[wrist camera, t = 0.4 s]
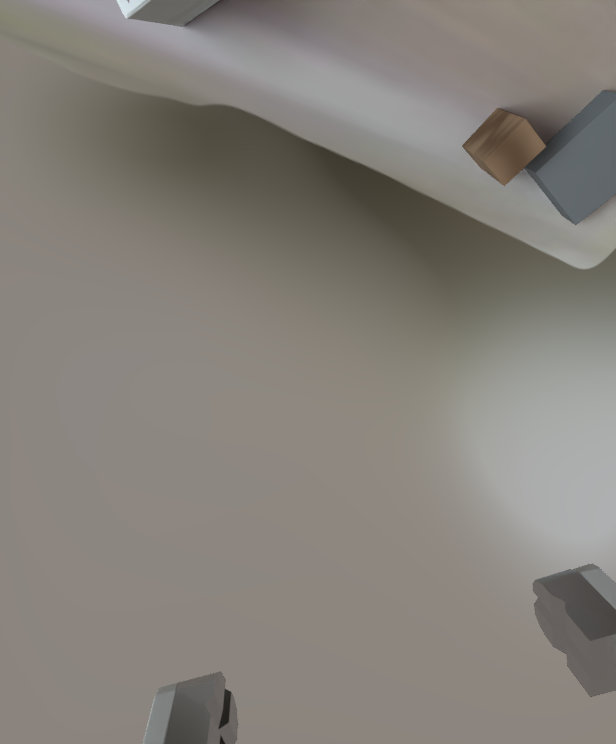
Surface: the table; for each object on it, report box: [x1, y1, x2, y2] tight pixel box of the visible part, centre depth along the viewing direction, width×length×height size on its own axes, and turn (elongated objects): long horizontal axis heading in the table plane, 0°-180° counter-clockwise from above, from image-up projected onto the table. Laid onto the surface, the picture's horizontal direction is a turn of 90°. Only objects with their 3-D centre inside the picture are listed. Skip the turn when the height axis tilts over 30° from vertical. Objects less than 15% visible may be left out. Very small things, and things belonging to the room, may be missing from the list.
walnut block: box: [462, 108, 546, 186], centre depth 44 cm, size 5×4×8 cm
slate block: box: [524, 90, 616, 225], centre depth 47 cm, size 10×10×4 cm
